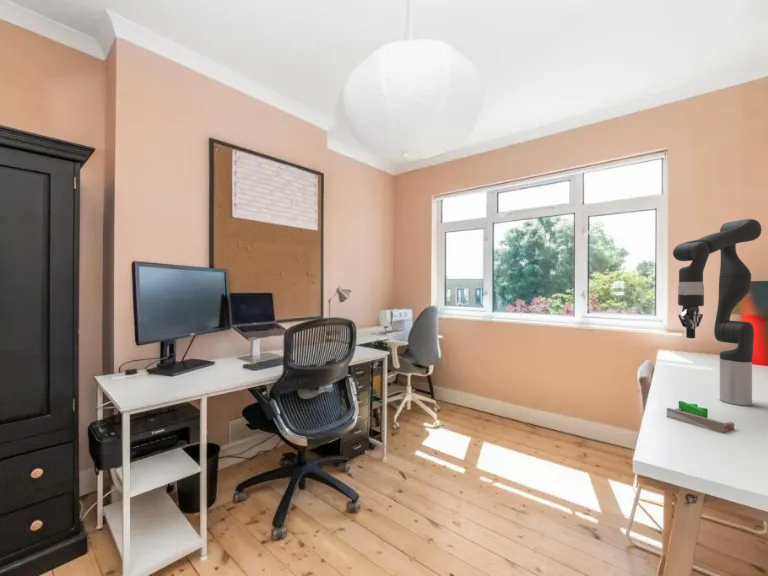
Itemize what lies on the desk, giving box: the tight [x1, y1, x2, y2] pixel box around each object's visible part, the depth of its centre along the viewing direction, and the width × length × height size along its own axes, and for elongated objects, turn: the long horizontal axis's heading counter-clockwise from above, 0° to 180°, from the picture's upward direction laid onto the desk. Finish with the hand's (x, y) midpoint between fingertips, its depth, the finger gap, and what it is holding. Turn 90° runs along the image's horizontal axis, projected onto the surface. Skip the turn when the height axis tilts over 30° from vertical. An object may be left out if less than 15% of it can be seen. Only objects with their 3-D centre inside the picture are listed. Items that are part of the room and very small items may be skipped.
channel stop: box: [666, 407, 735, 434], centre depth 116 cm, size 8×15×3 cm, turn 24°
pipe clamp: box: [678, 400, 709, 419], centre depth 120 cm, size 11×4×5 cm, turn 172°
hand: (690, 338), depth 132 cm, fingers closed
